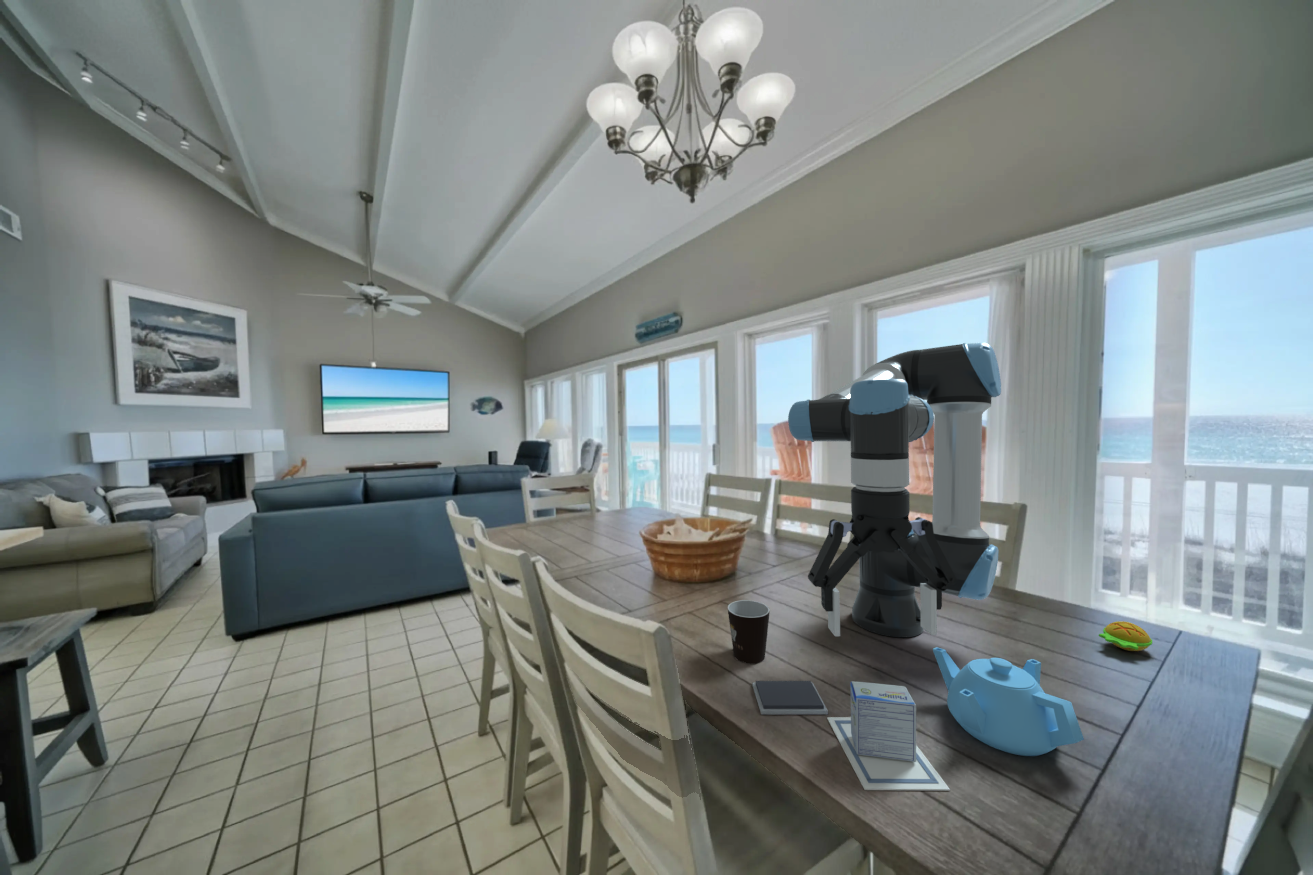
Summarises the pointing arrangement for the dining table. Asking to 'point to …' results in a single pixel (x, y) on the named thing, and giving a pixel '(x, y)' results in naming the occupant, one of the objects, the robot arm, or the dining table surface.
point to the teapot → (1007, 705)
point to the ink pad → (788, 697)
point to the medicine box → (883, 721)
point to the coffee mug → (749, 630)
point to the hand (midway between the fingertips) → (881, 631)
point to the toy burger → (1126, 636)
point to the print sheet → (887, 766)
